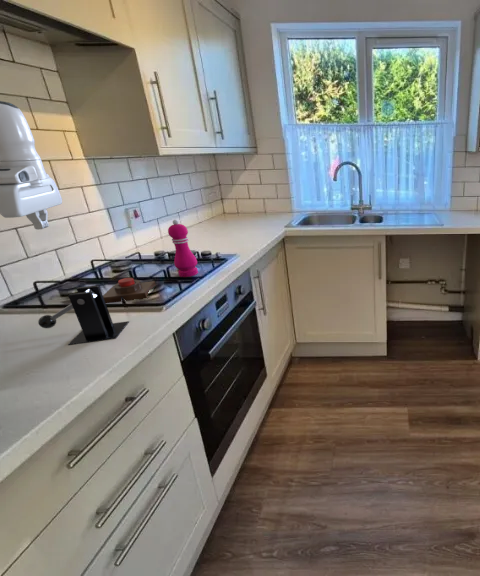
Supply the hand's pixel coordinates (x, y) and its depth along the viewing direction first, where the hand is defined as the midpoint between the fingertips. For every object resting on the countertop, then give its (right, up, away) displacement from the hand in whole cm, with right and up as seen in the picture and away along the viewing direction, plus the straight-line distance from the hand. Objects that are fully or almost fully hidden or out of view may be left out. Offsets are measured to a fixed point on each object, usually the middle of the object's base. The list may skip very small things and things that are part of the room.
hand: (42, 228), depth 94 cm
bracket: (+17, -28, -3) cm, 33 cm away
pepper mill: (+18, -11, +38) cm, 43 cm away
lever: (+13, -22, -6) cm, 26 cm away
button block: (+8, -18, +21) cm, 29 cm away
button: (+8, -15, +19) cm, 26 cm away
